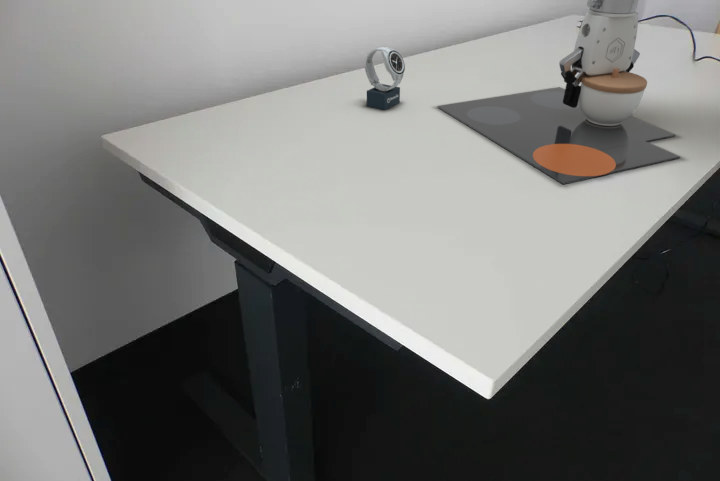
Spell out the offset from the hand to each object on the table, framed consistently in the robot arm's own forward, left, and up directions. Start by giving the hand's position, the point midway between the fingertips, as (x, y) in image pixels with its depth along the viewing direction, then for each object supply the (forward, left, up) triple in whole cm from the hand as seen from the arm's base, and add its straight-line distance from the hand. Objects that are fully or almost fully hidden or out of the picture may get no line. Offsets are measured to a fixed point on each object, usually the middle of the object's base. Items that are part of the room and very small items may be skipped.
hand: (590, 102), depth 101 cm
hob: (+9, +4, -3) cm, 10 cm away
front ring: (+17, +16, -3) cm, 23 cm away
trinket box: (0, +4, -2) cm, 5 cm away
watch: (+33, -21, -3) cm, 39 cm away
